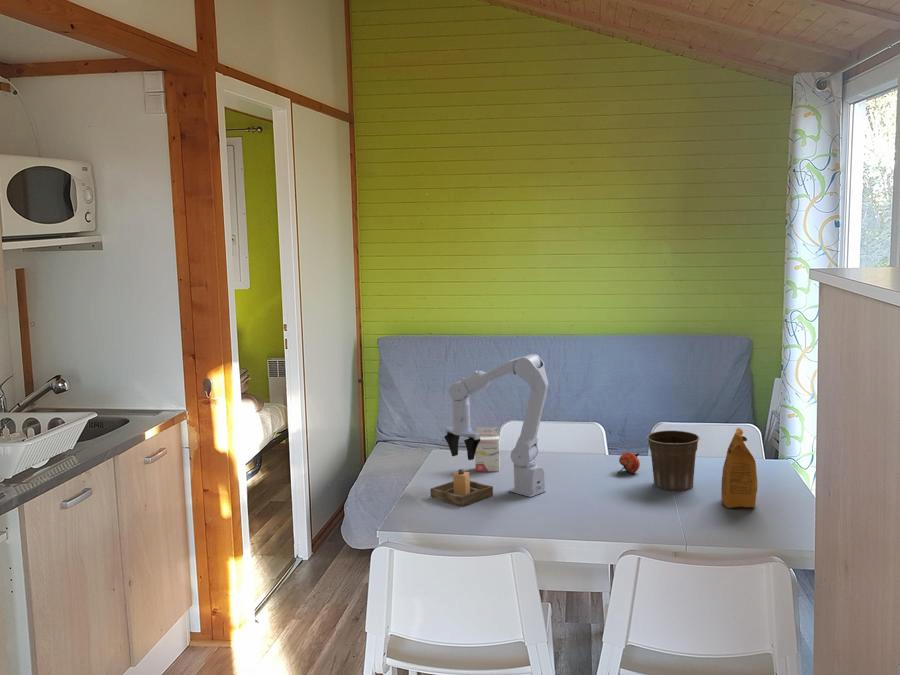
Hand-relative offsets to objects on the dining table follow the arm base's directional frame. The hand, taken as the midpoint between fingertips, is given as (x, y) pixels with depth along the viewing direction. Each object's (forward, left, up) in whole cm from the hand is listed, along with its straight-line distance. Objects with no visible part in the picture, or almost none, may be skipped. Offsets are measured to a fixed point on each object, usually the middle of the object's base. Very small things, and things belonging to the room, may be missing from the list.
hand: (462, 457), depth 281 cm
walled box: (-8, +9, -9) cm, 15 cm away
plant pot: (-53, -42, -10) cm, 68 cm away
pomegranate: (-34, -45, -10) cm, 57 cm away
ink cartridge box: (+6, -18, -10) cm, 21 cm away
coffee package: (-77, -39, -10) cm, 87 cm away
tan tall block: (-8, +9, -9) cm, 15 cm away
